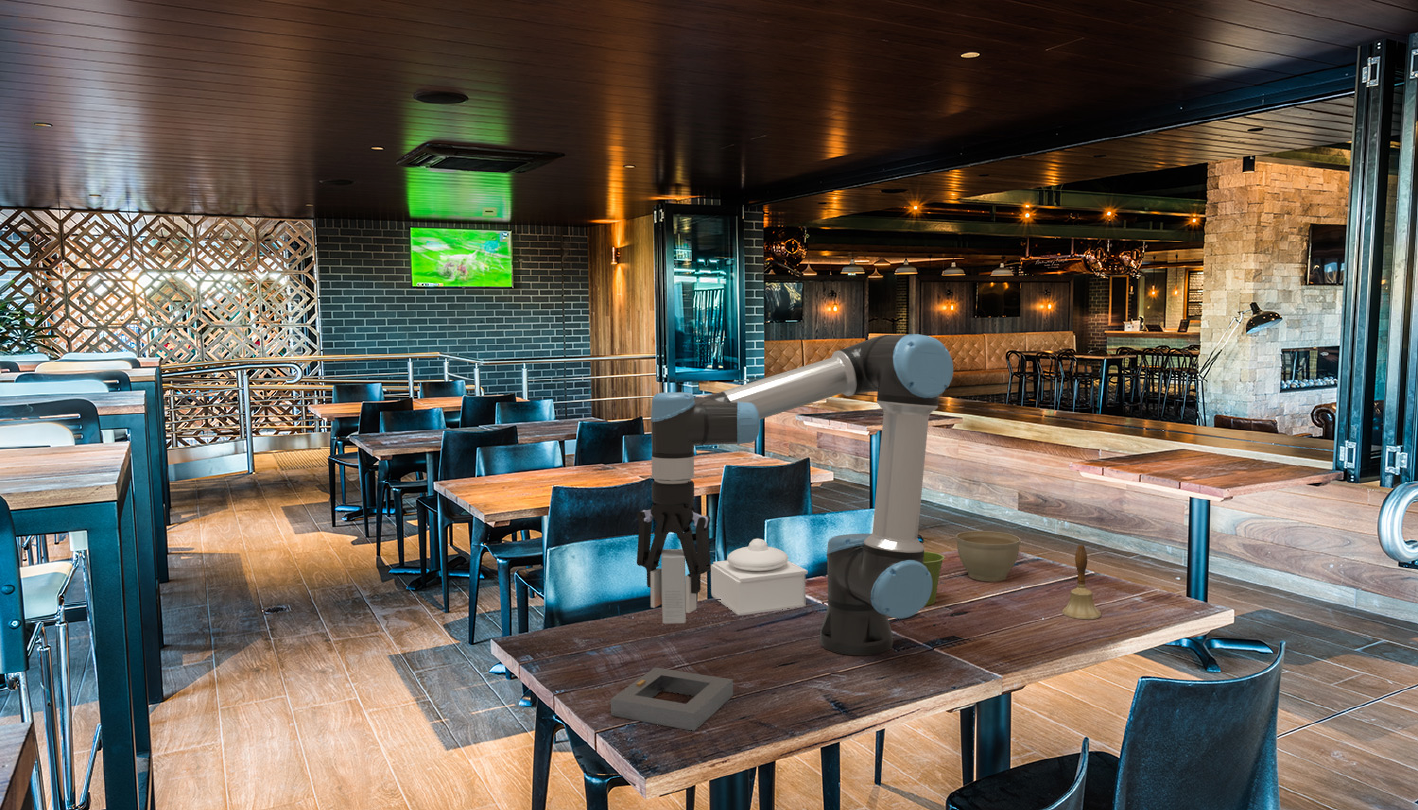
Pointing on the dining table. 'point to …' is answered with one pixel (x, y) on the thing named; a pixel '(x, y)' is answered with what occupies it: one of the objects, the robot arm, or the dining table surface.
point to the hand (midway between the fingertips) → (673, 607)
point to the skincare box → (673, 586)
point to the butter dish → (758, 580)
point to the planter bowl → (987, 554)
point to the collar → (689, 716)
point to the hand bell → (1081, 592)
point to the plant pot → (933, 571)
